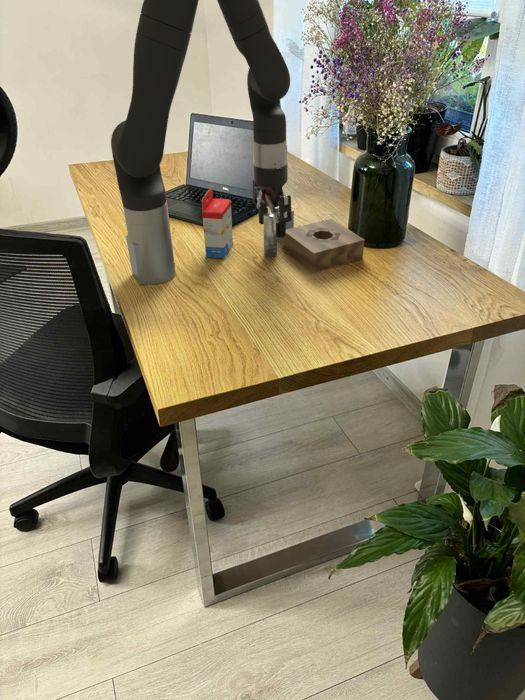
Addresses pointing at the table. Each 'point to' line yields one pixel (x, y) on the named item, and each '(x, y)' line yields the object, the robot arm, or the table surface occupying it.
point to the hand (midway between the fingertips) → (272, 229)
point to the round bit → (270, 235)
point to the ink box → (217, 225)
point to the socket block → (323, 245)
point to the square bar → (288, 224)
